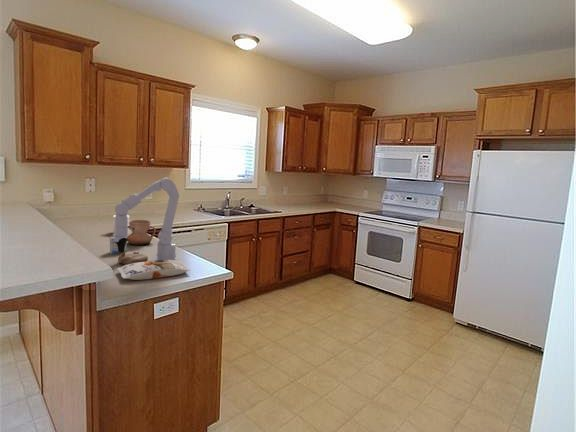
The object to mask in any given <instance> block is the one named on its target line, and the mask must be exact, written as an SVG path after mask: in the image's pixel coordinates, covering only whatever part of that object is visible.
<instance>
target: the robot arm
mask: <svg viewBox="0 0 576 432" xmlns="http://www.w3.org/2000/svg"><path fill="white" fill-rule="evenodd" d="M162 190H163V191H164V192H166V193H167V196H168V201H167V205H166V206H167V207H166V210H165V214H164V219H163V222H162V226H161V229H160V231H159V232H158V234H157V237H158V242H157V257H156V259H155V260H175V261H176V258H177V252H176V247H177V246H176V243H173V242H172V240H173V237H172V232H173V231H172V230H173V224H174V219H175V215H176V211H177V206H178V203H179V199H180V194H179V191H178V189H177V186H176V184H175V183H174V181H173V180H172V179H170V178H168V177H166V176H165V177H162V178H161V179H159V180H157V181H155V182H153V183H151V184H150V185H149V186H147V187H146V188H144V189H143V190H142V191H140V192H139V193H131V194H129V196H128V197H127V198H125V199H123V200H120V202H119V203H117V204H116V205H115V208H114V210H115V213H114V215H115V216H116V217H115V234H114V233H113V234H112V237H115V238H114V242H116V244H117V246H118V251H119V253H118V254H121V253H123V252H124V249H125V245H126V246H127V243H128V238H127V237H128V236H129V233H128V218H127V215H128V212H129V211H130V210H132V209H134V208H136V207H137V206H138V205H140V204H142V201H143V199H144V198H146V197H148V196H149V195H151V194H153V193H154V192H160V191H162ZM125 237H126V238H125Z"/></svg>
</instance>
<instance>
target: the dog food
mask: <svg viewBox="0 0 576 432" xmlns="http://www.w3.org/2000/svg"><path fill="white" fill-rule="evenodd" d="M117 271H118V272H119V273H120V276H121V278H122V279H128V280H138V281H139V280H151V279H161V278H167V277H172V276H173V277H174V276H178V275H181V274H185V273H186V272H189V271H191V270H190V269H189V268H188V267H187V266H186V265H185V264H184V263H183V262H181V261H180V260H178V261H177V260H176V259H175V260H156V259H155V260H147V261H145V262H138V263H133V264H128V265H126V264H123V265H122V266H120V267H118V268H117Z"/></svg>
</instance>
